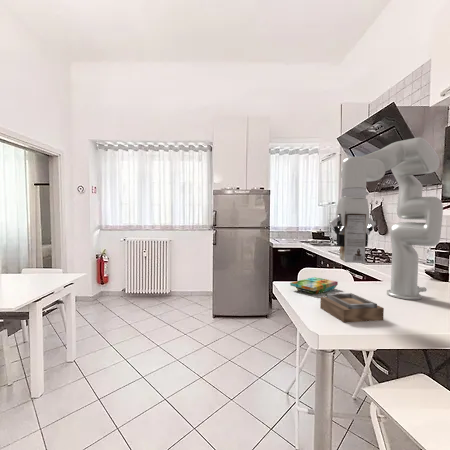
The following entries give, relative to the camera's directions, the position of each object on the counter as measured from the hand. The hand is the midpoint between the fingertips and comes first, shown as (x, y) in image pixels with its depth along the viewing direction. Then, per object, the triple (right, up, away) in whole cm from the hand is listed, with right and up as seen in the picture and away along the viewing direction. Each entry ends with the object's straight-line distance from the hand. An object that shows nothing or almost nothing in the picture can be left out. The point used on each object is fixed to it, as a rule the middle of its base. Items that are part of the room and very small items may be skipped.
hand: (352, 246), depth 94 cm
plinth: (0, -23, 0) cm, 23 cm away
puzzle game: (-2, -23, +33) cm, 40 cm away
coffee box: (0, -5, 0) cm, 5 cm away
